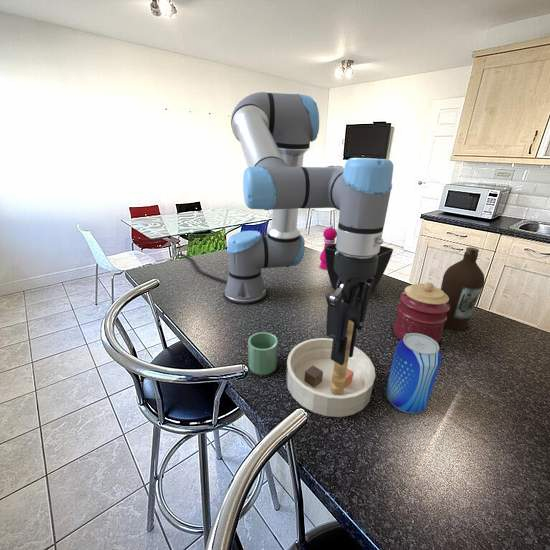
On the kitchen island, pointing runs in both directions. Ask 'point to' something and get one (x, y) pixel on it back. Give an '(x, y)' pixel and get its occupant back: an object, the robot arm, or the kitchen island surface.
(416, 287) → the kitchen canister
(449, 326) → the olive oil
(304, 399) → the bowl
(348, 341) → the stir stick
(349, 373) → the terracotta block
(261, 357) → the cup
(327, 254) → the flower pot
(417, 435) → the kitchen island surface
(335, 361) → the robot arm
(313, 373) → the walnut block
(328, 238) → the pepper mill
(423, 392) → the beer can
